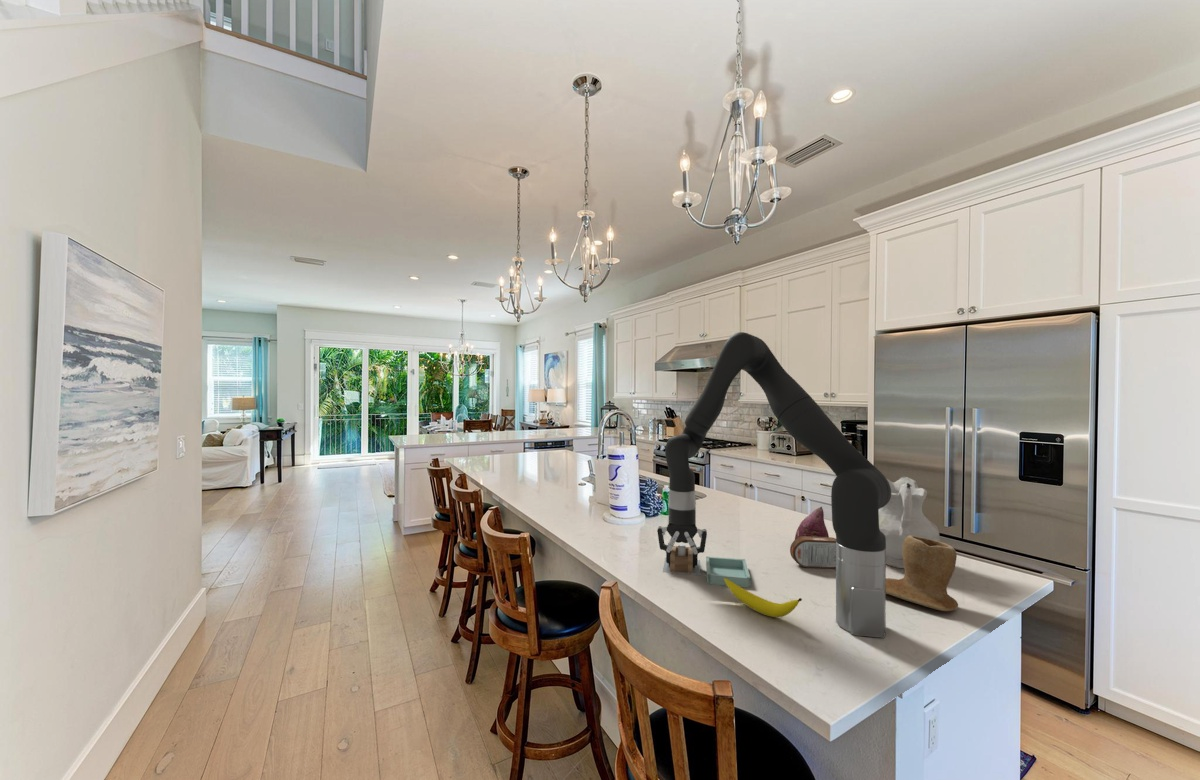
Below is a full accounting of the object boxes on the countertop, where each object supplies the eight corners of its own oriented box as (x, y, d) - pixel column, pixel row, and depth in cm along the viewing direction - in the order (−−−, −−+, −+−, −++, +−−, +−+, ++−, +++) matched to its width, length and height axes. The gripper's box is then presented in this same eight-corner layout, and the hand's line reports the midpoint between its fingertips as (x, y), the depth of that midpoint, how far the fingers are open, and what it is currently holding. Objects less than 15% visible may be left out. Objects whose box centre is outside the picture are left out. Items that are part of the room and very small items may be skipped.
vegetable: (829, 556, 150) (842, 511, 150) (825, 561, 142) (839, 514, 141) (795, 542, 156) (808, 499, 156) (789, 546, 147) (803, 501, 147)
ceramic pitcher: (957, 584, 123) (965, 490, 123) (877, 574, 126) (885, 482, 126) (915, 556, 145) (922, 476, 144) (848, 547, 148) (855, 469, 148)
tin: (844, 566, 133) (844, 536, 133) (849, 570, 130) (849, 540, 130) (789, 564, 135) (789, 535, 135) (793, 568, 132) (793, 538, 132)
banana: (727, 596, 113) (727, 570, 113) (804, 626, 99) (804, 596, 99) (720, 600, 111) (720, 573, 111) (798, 631, 97) (798, 600, 97)
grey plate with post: (700, 577, 125) (700, 554, 125) (662, 574, 127) (662, 551, 127) (699, 562, 136) (699, 541, 136) (665, 559, 138) (665, 538, 138)
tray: (750, 589, 117) (750, 578, 117) (707, 585, 119) (707, 574, 119) (744, 569, 130) (745, 559, 130) (706, 566, 133) (706, 556, 133)
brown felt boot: (966, 605, 109) (966, 541, 109) (948, 620, 102) (948, 551, 102) (894, 583, 121) (894, 525, 121) (874, 595, 114) (874, 534, 114)
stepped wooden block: (692, 573, 126) (692, 558, 126) (670, 571, 127) (670, 556, 127) (692, 561, 135) (692, 547, 135) (671, 559, 136) (671, 545, 136)
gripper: (655, 507, 129) (655, 568, 129) (708, 510, 126) (708, 572, 126) (657, 501, 136) (657, 559, 136) (707, 503, 133) (707, 562, 133)
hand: (681, 565), depth 131 cm, fingers closed on stepped wooden block, 6 cm apart
